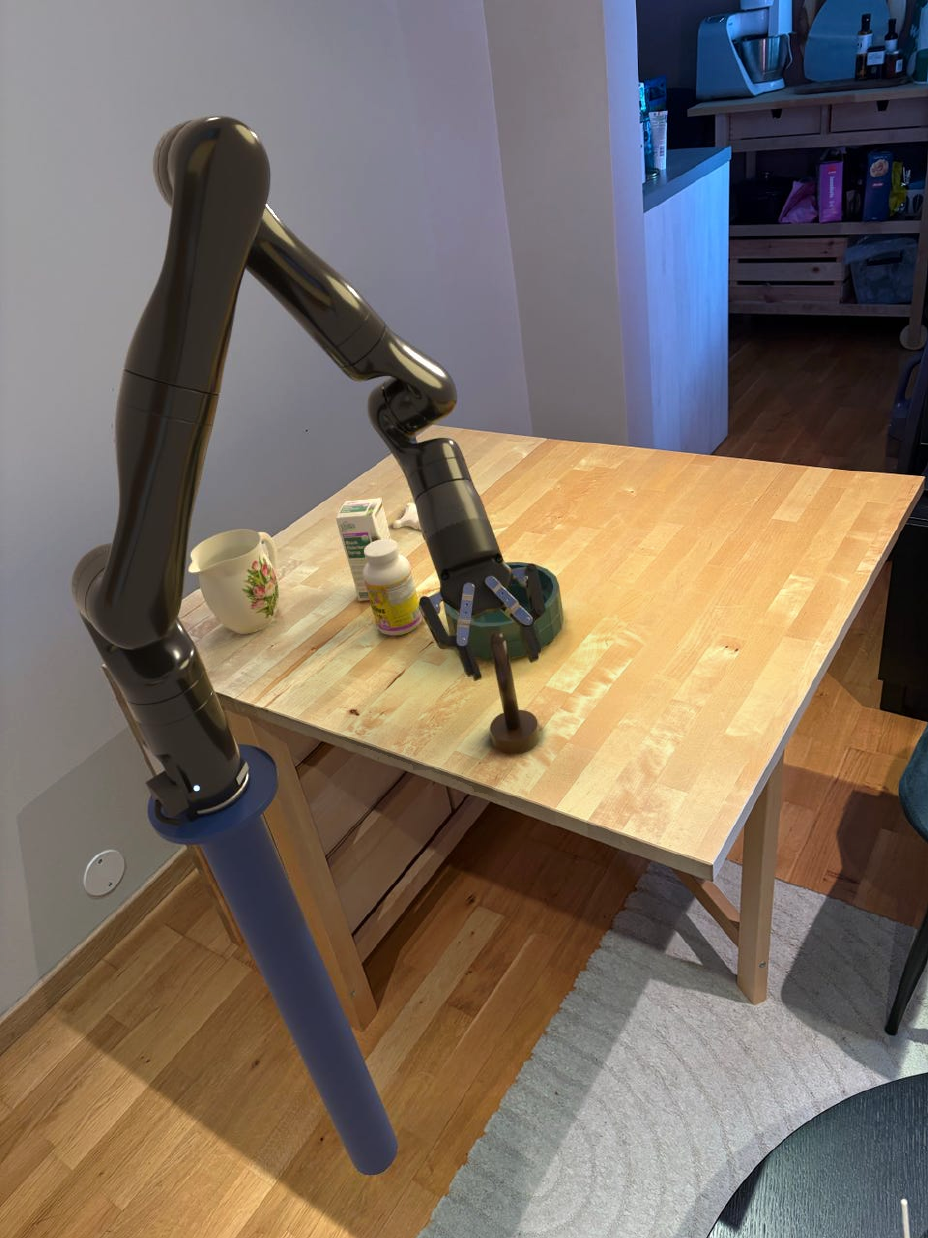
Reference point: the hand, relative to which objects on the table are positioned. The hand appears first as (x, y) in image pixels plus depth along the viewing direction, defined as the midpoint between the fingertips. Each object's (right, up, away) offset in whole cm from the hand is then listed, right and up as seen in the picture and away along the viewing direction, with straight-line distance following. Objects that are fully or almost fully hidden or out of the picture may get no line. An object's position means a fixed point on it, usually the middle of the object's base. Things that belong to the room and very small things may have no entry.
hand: (506, 669), depth 100 cm
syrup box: (-17, +10, +41) cm, 46 cm away
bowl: (+1, +4, +26) cm, 27 cm away
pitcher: (-36, +6, +41) cm, 55 cm away
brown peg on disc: (+1, -8, +8) cm, 11 cm away
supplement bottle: (-14, +5, +32) cm, 35 cm away
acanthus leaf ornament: (-13, +22, +59) cm, 64 cm away
